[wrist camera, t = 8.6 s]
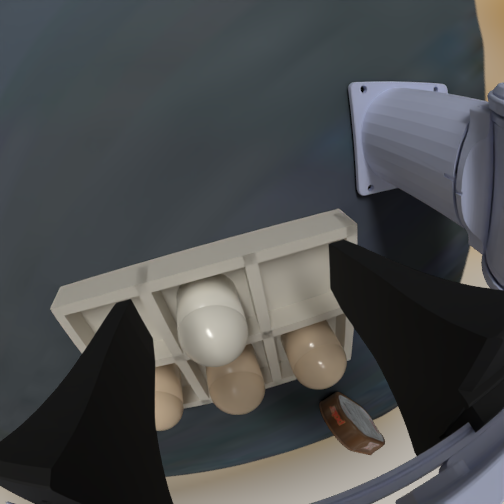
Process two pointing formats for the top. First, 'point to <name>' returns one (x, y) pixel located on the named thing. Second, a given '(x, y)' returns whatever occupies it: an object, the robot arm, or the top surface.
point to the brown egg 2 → (315, 355)
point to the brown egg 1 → (168, 396)
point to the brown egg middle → (237, 384)
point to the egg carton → (248, 287)
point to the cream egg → (211, 321)
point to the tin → (351, 424)
